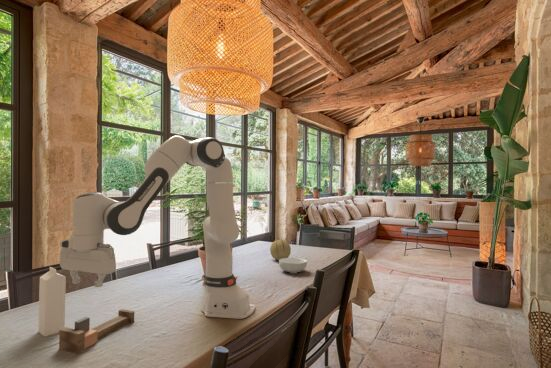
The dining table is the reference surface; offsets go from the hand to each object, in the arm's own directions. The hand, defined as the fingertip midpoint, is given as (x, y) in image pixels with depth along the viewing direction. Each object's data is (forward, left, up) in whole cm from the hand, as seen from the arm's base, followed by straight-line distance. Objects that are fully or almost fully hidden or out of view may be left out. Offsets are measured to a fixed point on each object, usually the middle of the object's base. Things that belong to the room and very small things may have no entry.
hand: (87, 284), depth 103 cm
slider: (0, +2, -19) cm, 19 cm away
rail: (0, -6, -19) cm, 20 cm away
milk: (+18, -2, -19) cm, 26 cm away
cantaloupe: (-24, -135, -19) cm, 138 cm away
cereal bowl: (-40, -109, -19) cm, 118 cm away
